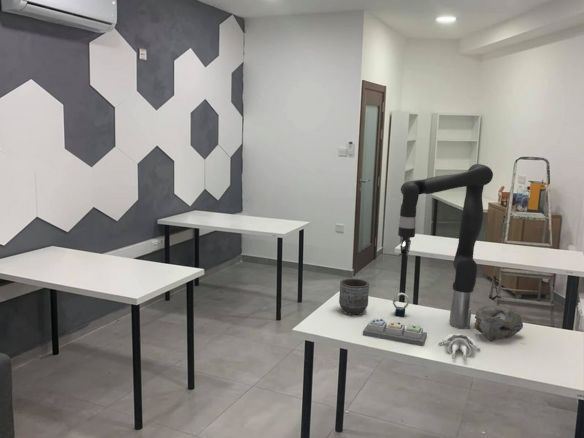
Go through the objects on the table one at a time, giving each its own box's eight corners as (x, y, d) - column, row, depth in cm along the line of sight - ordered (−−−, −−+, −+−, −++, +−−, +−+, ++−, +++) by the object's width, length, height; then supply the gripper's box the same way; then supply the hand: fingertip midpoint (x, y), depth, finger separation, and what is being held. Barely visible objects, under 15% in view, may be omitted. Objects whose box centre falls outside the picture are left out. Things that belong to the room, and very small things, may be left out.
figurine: (481, 366, 200) (479, 343, 224) (483, 345, 199) (481, 324, 222) (436, 359, 205) (439, 337, 229) (438, 339, 204) (440, 318, 228)
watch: (392, 311, 256) (393, 290, 254) (408, 314, 254) (410, 292, 252) (390, 315, 251) (392, 294, 249) (407, 318, 249) (409, 296, 247)
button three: (384, 327, 231) (384, 319, 230) (381, 331, 226) (382, 323, 226) (373, 325, 233) (373, 317, 232) (370, 329, 228) (370, 321, 227)
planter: (336, 314, 250) (338, 285, 247) (340, 305, 264) (342, 276, 261) (365, 318, 247) (367, 288, 244) (368, 308, 260) (370, 279, 258)
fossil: (466, 335, 230) (469, 303, 227) (496, 326, 242) (500, 296, 239) (494, 347, 218) (497, 314, 215) (524, 337, 230) (528, 305, 227)
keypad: (426, 336, 227) (427, 327, 226) (422, 346, 217) (423, 336, 216) (369, 326, 237) (369, 317, 236) (362, 335, 227) (363, 325, 226)
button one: (420, 333, 225) (420, 325, 224) (418, 338, 220) (419, 329, 220) (408, 331, 227) (409, 323, 226) (406, 335, 222) (407, 327, 222)
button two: (401, 330, 228) (402, 322, 227) (399, 334, 223) (400, 326, 223) (390, 328, 230) (391, 320, 229) (388, 332, 225) (388, 324, 224)
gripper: (413, 229, 227) (410, 267, 230) (417, 224, 239) (415, 260, 242) (396, 227, 230) (393, 265, 233) (401, 222, 242) (399, 258, 245)
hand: (404, 262), depth 237 cm, fingers closed
